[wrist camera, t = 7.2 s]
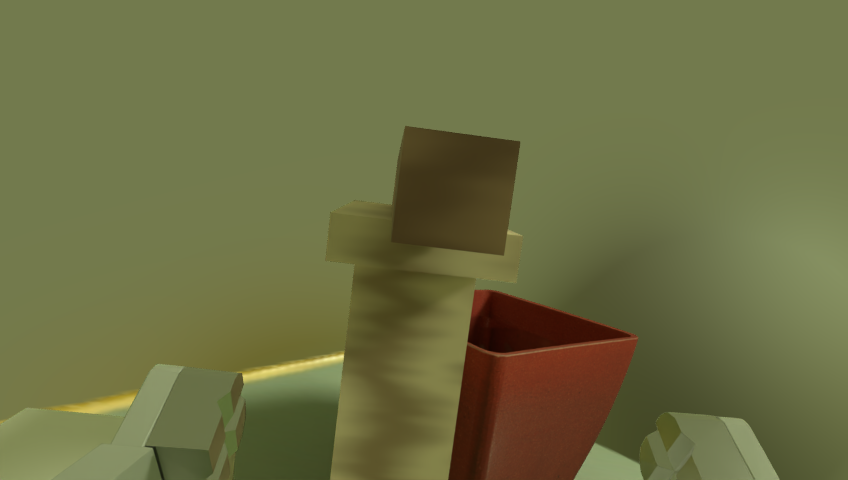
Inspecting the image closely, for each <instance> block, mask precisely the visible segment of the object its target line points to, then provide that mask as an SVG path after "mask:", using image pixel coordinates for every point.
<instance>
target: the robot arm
mask: <svg viewBox="0 0 848 480" xmlns="http://www.w3.org/2000/svg"><path fill="white" fill-rule="evenodd" d="M243 385H244V384H243V377H242V373H234V372H226V371H217V370H208V369H200V368H192V367H184V366H174V365H164V364H156V365H155V366H154V368H152V369H151V370H150V372H149V373H148V375H147V377H146V379H145V381H144V383H143V384H142V386H141V388H140V390H139V392H138V393H137V395H136V397H135V399H134V401H133V403H132V405H131V406H130V408H129V410H128V412H127V414H126V416H125V418H124V419H123V421H122V423H121V425H120V427H119V429H118V431H117V432H116V434H115V436H114V438H113V440H112V442H111V443H110V444H104V443H101V444H100V445H98V446H97V447H96V448H94V449H93V450H92V451H90V452H89V453H87V454H86V455H85V456H83V457H82V458H80V459H79V460H78V461H76V462H75V463H73V464H72V465H71V466H69V467H68V468H66V469H65V470H64V471H62V472H61V473H59V474H58V475H57V476H55V477H54V478H53V479H51V480H228V479H229V476H230V465H229V457H230V456H231V455H233V454H234V453H235V452H236V451H237V450H238V448H239V444H240V441H241V438H242V434H243V428H244V423H245V415H246V404H245V399H244V398H242V397H241V396H240V394H241V391H242V388H243ZM655 423H656V426H657V428H658V430H657V431H655V432H653V433H651V434H649V435H648V436H646V438H645V440H644V442H643V443H642V445H641V448H640V457H639V462H640V469H641V473H642V476H643V479H644V480H780V479H779V478H778V476H777V474H776V472H775V471H774V469H773V467H772V465H771V463H770V462H769V460H768V458H767V456H766V455H765V453H764V451H763V449H762V448H761V446H760V444H759V442H758V440H757V438H756V437H755V435H754V433H753V431H752V430H751V428H750V426H749V425H748V424H747V423H746V422H745V421H744V420H743V419H738V418H728V417H727V418H726V417H714V416H712V415H699V414H687V413H673V412H666V413H663V414H661V415H660V416H659V418H658V420H657V421H656V422H655Z"/></svg>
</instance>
